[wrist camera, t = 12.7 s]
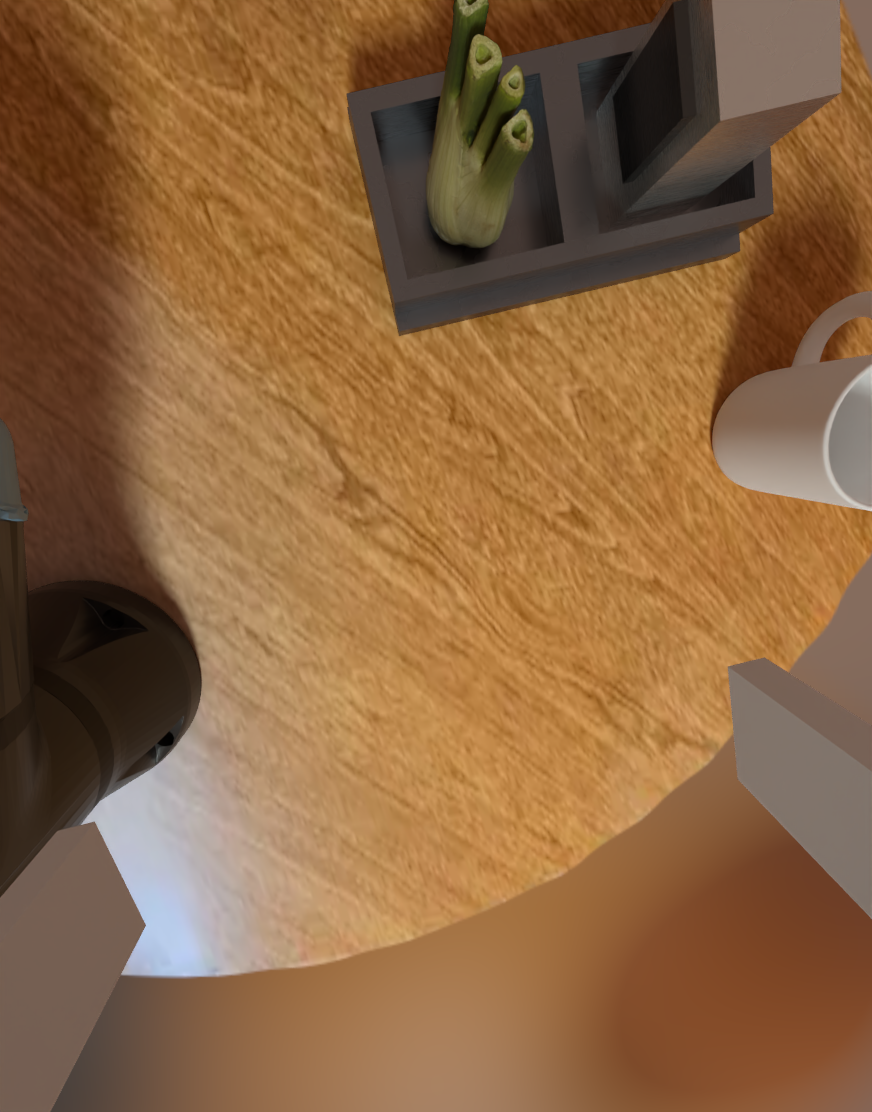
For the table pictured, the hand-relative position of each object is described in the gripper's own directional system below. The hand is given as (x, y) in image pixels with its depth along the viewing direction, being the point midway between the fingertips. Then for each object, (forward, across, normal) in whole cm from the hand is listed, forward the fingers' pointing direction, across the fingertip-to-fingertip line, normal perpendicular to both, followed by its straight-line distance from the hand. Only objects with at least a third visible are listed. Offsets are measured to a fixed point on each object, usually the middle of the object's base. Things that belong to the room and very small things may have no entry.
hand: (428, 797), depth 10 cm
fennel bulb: (+25, +8, +19) cm, 33 cm away
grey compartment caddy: (+27, +14, +19) cm, 35 cm away
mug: (+27, +27, +3) cm, 38 cm away
